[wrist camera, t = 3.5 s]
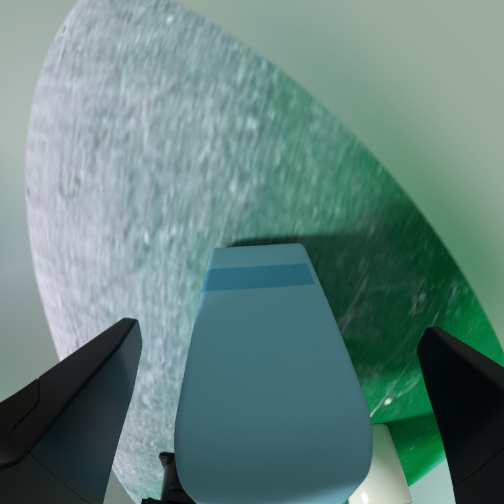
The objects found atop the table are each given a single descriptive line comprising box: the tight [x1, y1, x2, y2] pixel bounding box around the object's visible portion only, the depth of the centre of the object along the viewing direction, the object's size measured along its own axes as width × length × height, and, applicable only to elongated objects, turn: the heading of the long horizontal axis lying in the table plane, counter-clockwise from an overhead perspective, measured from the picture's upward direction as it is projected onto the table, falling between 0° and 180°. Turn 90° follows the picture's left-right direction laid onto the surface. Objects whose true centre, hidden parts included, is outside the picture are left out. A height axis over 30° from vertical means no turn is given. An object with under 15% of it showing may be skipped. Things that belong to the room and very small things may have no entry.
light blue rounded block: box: [174, 243, 373, 504], centre depth 12 cm, size 12×4×12 cm, turn 3°
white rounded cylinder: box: [348, 424, 412, 504], centre depth 21 cm, size 6×6×10 cm
